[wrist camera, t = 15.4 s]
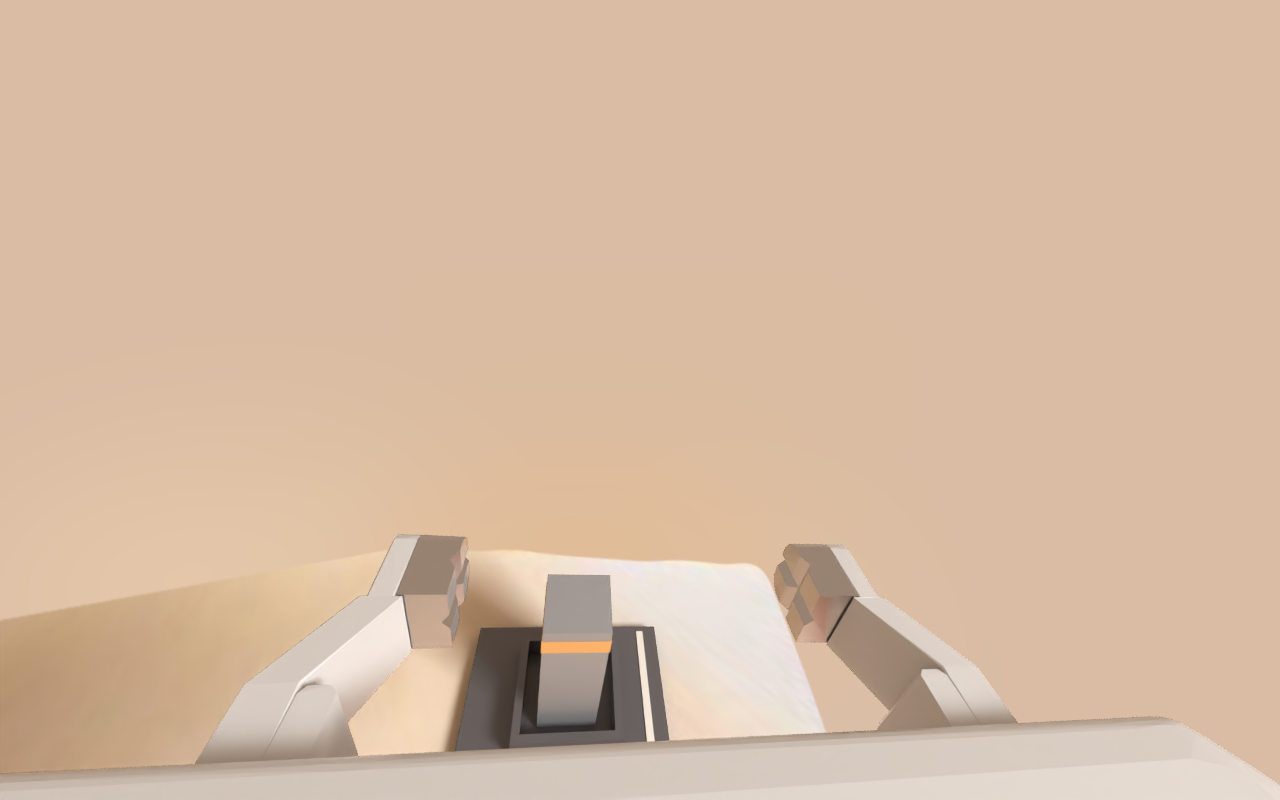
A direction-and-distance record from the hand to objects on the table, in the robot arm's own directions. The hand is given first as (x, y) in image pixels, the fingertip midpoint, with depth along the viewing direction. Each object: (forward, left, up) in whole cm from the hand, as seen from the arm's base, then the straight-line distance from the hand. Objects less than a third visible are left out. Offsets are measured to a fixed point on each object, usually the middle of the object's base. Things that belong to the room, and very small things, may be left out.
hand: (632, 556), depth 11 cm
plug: (-9, +9, -31) cm, 33 cm away
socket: (-9, +9, -32) cm, 34 cm away
